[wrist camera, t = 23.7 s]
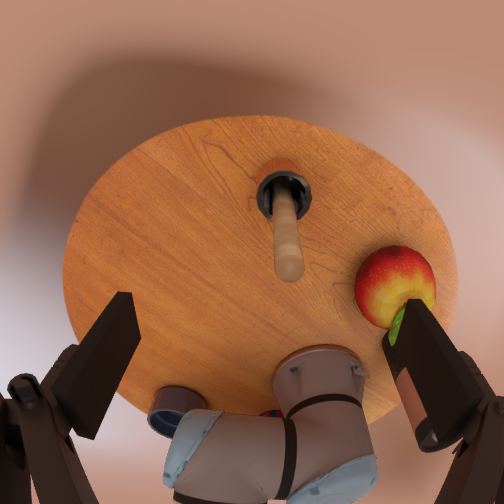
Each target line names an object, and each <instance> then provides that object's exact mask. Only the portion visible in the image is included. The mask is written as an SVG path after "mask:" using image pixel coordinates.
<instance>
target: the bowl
mask: <svg viewBox="0 0 504 504" xmlns="http://www.w3.org/2000/svg"><path fill="white" fill-rule="evenodd" d="M193 409H204V410H207V405H206V403H205V402H204V400H203V399H202V398H201V397H200V396H199V395H197V394H196V393H195V392H193V391H191V390H188V389H186V388H182V387H167V388H163V389H161V390H158V391H157V393H156V394H155V395H154V398H153V401H152V404H151V407H150V410H149V413H148V417H147V421H148V424H149V425H150V427H151V428H152V429H153V430H154V431H156V432H157V433H159V434H160V435H162V436H165V437H167V438H170V439H173V436H174V434H175V431H176V429H177V427H178V424H179V422H180V421H181V419H182V417H183V416H184V415H185V414H186V413H187V412H188V411H190V410H193Z"/></svg>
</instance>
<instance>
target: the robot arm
mask: <svg viewBox="0 0 504 504" xmlns="http://www.w3.org/2000/svg"><path fill="white" fill-rule="evenodd" d="M140 340H141V335H140V331H139V326H138V322H137V317H136V312H135V307H134V302H133V297H132V293H130V292H117V293H116V294H115V296H114V297H113V298H112V300H111V301H110V302H109V304H108V305H107V306H106V308H105V309H104V311H103V312H102V313H101V315H100V316H99V317H98V319H97V320H96V322H95V323H94V324H93V326H92V327H91V329H90V330H89V332H88V333H87V334H86V336H85V337H84V339H83V340H82V342H81V343H80V344H79V345H75V344H72V345H70V346H69V347H68V348H66V349H65V350H63V352H62V353H61V355H60V356H59V357H58V360H57V361H56V362H55V363H54V365H53V367H51V369H50V370H49V372H48V373H47V375H46V376H45V378H44V379H43V381H42V382H41V384H40V385H39V383H38V381H37V379H36V377H35V376H33V375H32V374H27V373H24V374H20V375H17V376H15V377H14V378H13V379H12V380H11V381H10V382H9V384H8V388H7V391H8V392H9V394H10V396H11V397H12V399H4V398H3V396H2V394H1V393H0V504H32V498H31V477H30V473H31V476H32V480H33V483H34V487H35V490H36V493H37V496H38V499H39V502H40V504H99V502H98V500H97V498H96V496H95V494H94V492H93V490H92V488H91V486H90V484H89V481H88V479H87V476H86V474H85V472H84V469H83V467H82V465H81V462H80V460H79V457H78V455H77V452H76V450H75V447H74V444H73V441H72V439H71V437H70V435H69V432H70V430H71V428H73V429H74V431H75V432H76V434H77V435H78V436H81V437H84V438H88V439H91V440H94V439H95V436H96V434H97V432H98V430H99V427H100V425H101V423H102V421H103V418H104V416H105V414H106V411H107V409H108V407H109V405H110V403H111V401H112V398H113V396H114V394H115V392H116V390H117V388H118V385H119V383H120V381H121V379H122V377H123V375H124V373H125V371H126V369H127V366H128V364H129V362H130V360H131V358H132V356H133V354H134V352H135V350H136V348H137V346H138V344H139V342H140ZM395 346H396V348H397V350H398V352H399V354H400V356H401V358H402V360H403V362H404V365H405V367H406V369H407V371H408V373H409V375H410V378H411V380H412V382H413V384H414V386H415V389H416V391H417V393H418V396H419V398H420V400H421V402H422V405H423V407H424V409H425V412H426V414H427V417H428V419H429V421H430V424H431V426H432V429H433V431H434V434H435V436H436V439H437V441H438V444H443V443H447V442H451V441H454V440H455V439H456V437H457V436H458V434H459V433H460V432H461V433H462V436H463V439H462V440H461V442H460V443H459V444H458V445H457V447H456V448H455V449H454V451H453V452H452V454H454V453H455V452H456V451H457V452H456V455H455V458H454V460H453V463H452V465H451V467H450V470H449V472H448V475H447V477H446V479H445V482H444V484H443V486H442V488H441V491H440V492H439V495H438V497H437V499H436V501H435V503H434V504H494V501H495V504H504V397H502V396H496V395H495V393H494V392H493V390H492V389H491V387H490V386H489V384H488V382H487V380H486V379H485V377H484V376H483V374H481V371H480V370H479V368H478V367H477V365H476V363H475V362H474V360H473V359H472V358H471V357H470V356H469V355H468V354H466V353H465V352H464V351H460V352H458V351H457V349H456V348H455V346H454V345H453V343H452V342H451V340H450V339H449V337H448V336H447V334H446V333H445V331H444V330H443V328H442V327H441V326H440V324H439V323H438V321H437V320H436V318H435V317H434V316H433V314H432V313H431V311H430V310H429V309H428V307H427V306H426V305H425V303H424V302H423V301H422V299H408V300H407V304H406V307H405V311H404V315H403V318H402V321H401V325H400V328H399V331H398V334H397V338H396V341H395ZM365 377H366V378H369V375H368V372H366V371H364V369H363V366H362V363H361V361H360V359H359V357H358V356H357V355H356V354H355V353H354V352H352V351H351V350H349V349H347V348H344V347H341V346H336V345H316V346H311V347H307V348H304V349H301V350H298V351H296V352H294V353H292V354H291V355H289V356H288V357H286V358H285V359H284V360H283V361H282V362H281V363H280V364H279V365H278V366H277V368H276V369H275V372H274V374H273V379H272V383H273V392H274V396H275V399H276V401H277V403H278V405H279V407H280V409H281V411H282V413H283V415H284V417H285V418H275V417H263V416H252V415H243V414H234V413H227V412H224V410H220V411H213V410H204V409H193V410H190V411H188V412H187V413H186V414H185V415H184V416H183V417H182V419H181V421H180V422H179V424H178V427H177V429H176V431H175V434H174V436H173V439H172V442H171V445H170V448H169V451H168V454H167V458H166V462H165V467H164V474H163V483H164V485H166V486H168V487H169V488H174V496H173V502H174V503H175V504H267V501H268V500H269V499H276V500H287V501H286V503H287V504H351V503H353V502H355V501H357V500H359V499H361V498H362V497H364V496H365V495H367V494H368V493H369V492H370V491H371V490H372V489H373V488H374V487H375V485H376V483H377V480H378V473H377V464H376V455H375V454H374V451H373V446H372V443H371V439H370V435H369V431H368V427H367V423H366V419H365V415H364V412H363V408H362V398H363V390H364V382H365ZM369 379H370V378H369Z"/></svg>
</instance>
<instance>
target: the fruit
mask: <svg viewBox="0 0 504 504" xmlns="http://www.w3.org/2000/svg"><path fill="white" fill-rule="evenodd" d="M354 289H355V298H356V303H357V305H358V307H359V309H360V311H361V312H362V314H363V316H364V317H365V318H366V319H368V320H369V321H370V322H371V323H372V324H374V325H375V326H378V327H381V328H384V329H387V330H390V331H389V341H390V344H391V346H392V345H394V344H395V341H396V338H397V334H398V331H399V328H400V325H401V321H402V318H403V315H404V311H405V307H406V304H407V300H408V299H422V301H423V302H424V303H425V305H426V306H427V307H428V309H429V310H430V311H431V310H432V309H433V306H434V302H435V298H436V283H435V278H434V275H433V271H432V268H431V266H430V264H429V263H428V262H427V261H426V259H425V258H424V257H423V256H422V255H421V254H420V253H419V252H417V251H415V250H413V249H411V248H409V247H406V246H395V245H393V246H388V247H384V248H381V249H379V250H378V251H376V252H374V253H372V254H371V255H370V256H369V257H368V258H367V259H366V260H365V261H364V262H363V264H362V266H361V267H360V269H359V271H358V273H357V277H356V281H355V285H354Z"/></svg>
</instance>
